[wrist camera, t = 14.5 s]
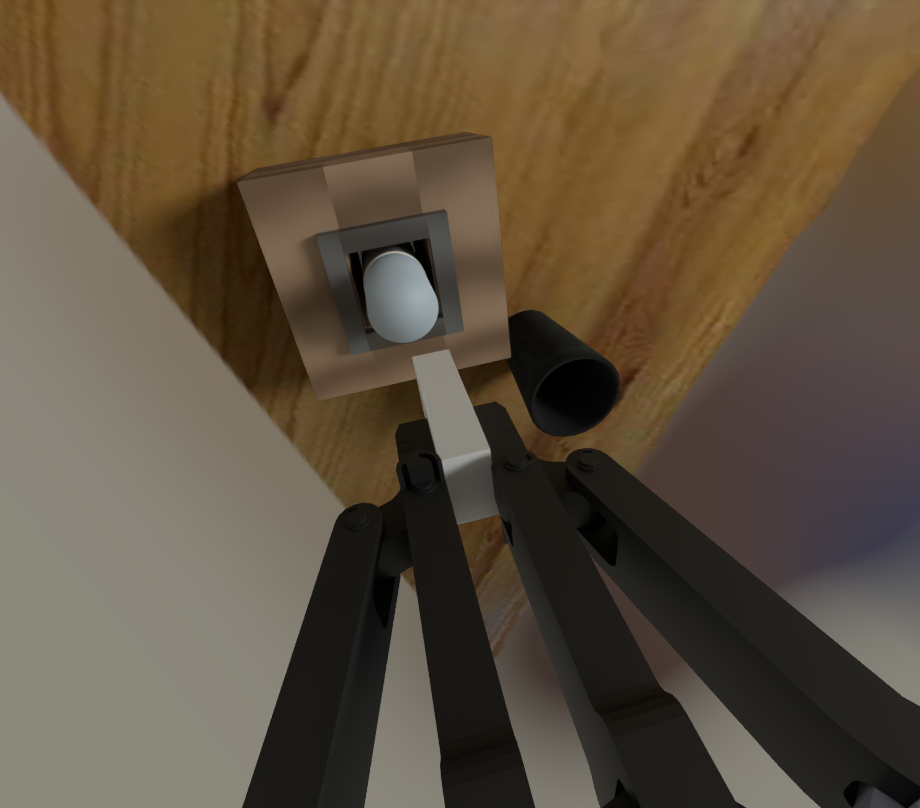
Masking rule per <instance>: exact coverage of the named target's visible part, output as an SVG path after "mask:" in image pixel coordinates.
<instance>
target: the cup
mask: <svg viewBox="0 0 920 808" xmlns="http://www.w3.org/2000/svg"><path fill="white" fill-rule="evenodd" d="M508 327H509V338H510V350H511V358H507V362H508V364H509V367H510V369H511V371H512V374H513V376H514V378H515V381H516V383H517V385H518V388H519V390H520V393H521V395H522V397H523V400H524V402H525V404H526V407H527V409H528V412H529V414H530V416H531V419H532V421H533V422H534V424H535V425H536V426H537V428H539V429H540V430H541V431H543V432H544V433H546V434H549V435H552V436H560V437H566V436H574V435H577V434H580V433H583V432H586V431H588V430H589V429H591V428H593V427H595V426H596V425H597V424H599V423H600V422H601V421H602V420H604V418H605V417H606V416H607V415H608V414H609V413H610V412H611V410H612V408H613V407H614V405H615V403H616V401H617V398H618V395H619V392H620V379H619V374H618V372H617V370H616V368H615V366H614V365H613V364H612V363H611V362H609V361H608V360H607V359H606V358H604V357H603V356H602V355H600V354H599V353H598V352H596V351H595V350H593V349H592V348H591V347H589V346H588V345H586V344H585V343H584V342H582V341H581V340H580V339H578V338H577V337H575V336H574V335H573V334H571V333H570V332H568V331H567V330H566V329H564V328H563V327H562V326H560V325H559V324H557V323H556V322H555V321H553V320H552V319H550V318H549V317H548V316H546V315H545V314H543V313H541V312H539V311H534V310H528V311H523V312H520V313H518V314H516V315H515V316H513V317H512V318H511V319H510V320H509V321H508Z"/></svg>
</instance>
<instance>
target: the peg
mask: <svg viewBox="0 0 920 808" xmlns="http://www.w3.org/2000/svg"><path fill="white" fill-rule="evenodd" d="M362 269H363V285H364V291H365V296H366V306H367V314H368V318H369V321H370V323H371V325H372V327H373V329H374V330H375V331H376V332H377V333H378V334H379V335H380V336H382V337H383V338H385V339H387V340H390V341H393V342H398V343H407V342H412V341H415V340H418V339H420V338H422V337H423V336H424V335H426V334H427V333H428V332H429V331H430V330H431V329H432V327H433V326H434V324H435V322H436V319H437V316H438V301H437V297H436V295H435V293H434V291H433V289H432V287H431V285H430V283H429V281H428V279H427V277H426V274H425V271H424V269H423V267H422V265H421V264H420V262H419V260H418V258H417V256H416V254H415V252H414V250H413V248H412V246H411V245H410V243H409V242H405V243H400V244H395V245H390V246H385V247H380V248H374V249H369V250H364V251H362Z"/></svg>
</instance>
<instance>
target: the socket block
mask: <svg viewBox="0 0 920 808" xmlns="http://www.w3.org/2000/svg"><path fill="white" fill-rule="evenodd" d="M237 184H238V187H239V190H240V192H241V195H242V198H243V200H244V203H245V206H246V209H247V211H248V214H249V217H250V219H251V222H252V225H253V227H254V230H255V233H256V236H257V238H258V241H259V244H260V246H261V249H262V252H263V254H264V257H265V260H266V263H267V265H268V268H269V271H270V273H271V276H272V279H273V281H274V284H275V287H276V290H277V292H278V295H279V298H280V300H281V303H282V306H283V308H284V311H285V314H286V317H287V319H288V322H289V325H290V327H291V330H292V333H293V335H294V338H295V341H296V344H297V346H298V349H299V352H300V354H301V357H302V360H303V362H304V365H305V368H306V371H307V373H308V376H309V379H310V381H311V384H312V387H313V389H314V392H315V395H316V398H317V400H318V401H320V400H324V399H329V398H333V397H338V396H342V395H346V394H351V393H355V392H360V391H364V390H369V389H373V388H378V387H382V386H387V385H391V384H396V383H400V382H404V381H409V380H413V379H417V378H416V374H415V369H414V364H413V360H412V357H414V356H419V355H423V354H428V353H433V352H437V351H442V350H447V349H449V351H450V354H451V356H452V359H453V361H454V363H455V366H456V368H457V370H458V369H462V368H467V367H471V366H476V365H480V364H485V363H489V362H494V361H498V360H503V359H507V358H511V350H510V338H509V327H508V316H507V304H506V293H505V281H504V270H503V258H502V247H501V236H500V224H499V213H498V201H497V190H496V178H495V167H494V155H493V144H492V137H489V136H484V135H479V134H473V133H468V132H462V133H457V134H451V135H445V136H440V137H434V138H428V139H423V140H417V141H411V142H406V143H400V144H394V145H388V146H383V147H377V148H371V149H366V150H360V151H354V152H349V153H343V154H337V155H332V156H326V157H320V158H314V159H309V160H303V161H297V162H292V163H286V164H280V165H275V166H269V167H263V168H258V169H256V170H255V171H253V172H252V173H250V174H249V175H247V176H246V177H244V178H243V179H241V180H240V181H238V182H237ZM415 240H418V245H419V250H420V255H421V261H422V266H423V269H424V271H425V274H426V277H427V279H428V281H429V283H430V285H431V287H432V289H433V291H434V293H435V295H436V297H437V301H438V316H437V319H436V322H435V324H434V326H433V327H432V329H431V330H430V331H429V332H428V333H427V334H426V335H424V336H423V337H422V338H420V339H418V340H415V341H412V342H407V343H398V342H393V341H390V340H387V339H385V338H383V337H382V336H380V335H379V334H378V333H377V332H376V331H375V330H374V329H373V327H372V325H371V323H370V321H369V318H368V314H367V306H366V296H365V292H363V290H362V286H361V282H360V279H359V275H358V271H357V267H356V263H355V260H354V256H353V253H354V252H359V251H364V250H369V249H374V248H380V247H385V246H390V245H395V244H400V243H405V242H410V241H415Z"/></svg>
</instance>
